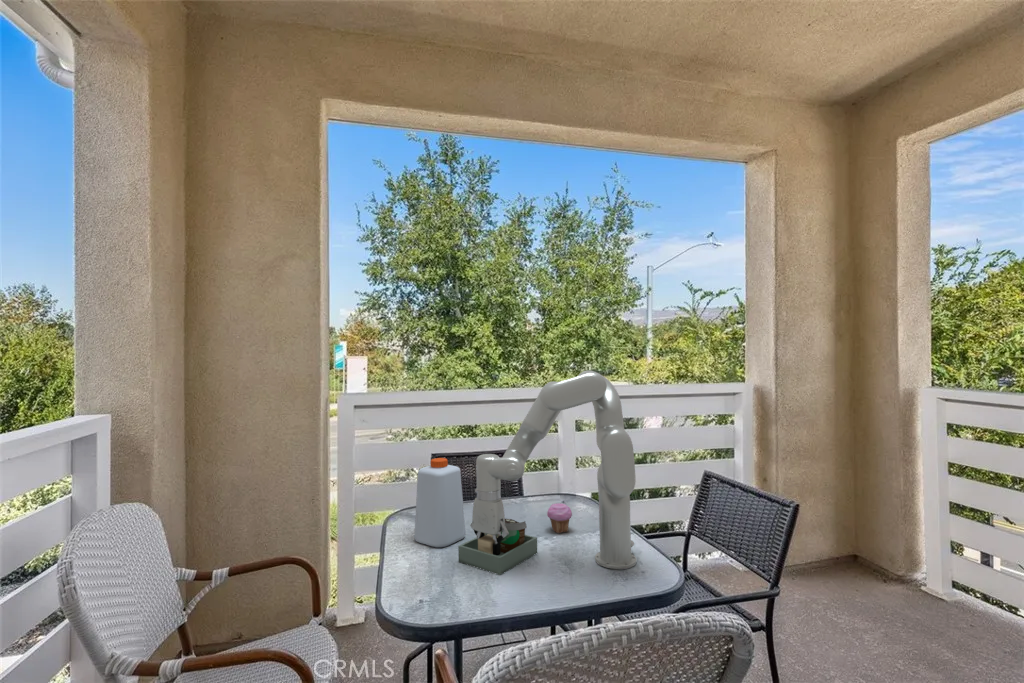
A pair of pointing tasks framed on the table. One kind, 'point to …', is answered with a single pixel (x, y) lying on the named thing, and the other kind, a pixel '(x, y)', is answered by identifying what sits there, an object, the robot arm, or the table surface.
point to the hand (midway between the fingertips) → (489, 552)
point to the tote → (496, 562)
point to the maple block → (486, 544)
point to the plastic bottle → (439, 505)
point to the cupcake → (559, 517)
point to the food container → (513, 535)
